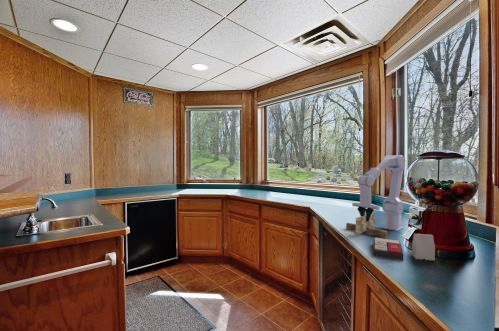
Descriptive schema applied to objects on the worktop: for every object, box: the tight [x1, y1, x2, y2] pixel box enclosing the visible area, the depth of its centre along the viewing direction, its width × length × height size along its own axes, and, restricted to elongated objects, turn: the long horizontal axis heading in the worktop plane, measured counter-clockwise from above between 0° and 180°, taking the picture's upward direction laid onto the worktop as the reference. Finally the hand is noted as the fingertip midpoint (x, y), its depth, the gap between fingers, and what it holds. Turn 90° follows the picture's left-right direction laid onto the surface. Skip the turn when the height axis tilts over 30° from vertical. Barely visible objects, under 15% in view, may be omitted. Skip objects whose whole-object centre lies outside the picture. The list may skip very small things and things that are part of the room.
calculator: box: [372, 237, 404, 261], centre depth 104 cm, size 11×4×15 cm
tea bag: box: [411, 233, 436, 262], centre depth 98 cm, size 4×7×10 cm, turn 72°
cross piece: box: [355, 213, 376, 235], centre depth 131 cm, size 18×2×8 cm, turn 128°
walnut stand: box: [345, 222, 388, 239], centre depth 131 cm, size 22×2×4 cm, turn 38°
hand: (365, 220), depth 131 cm, fingers closed on cross piece, 2 cm apart
